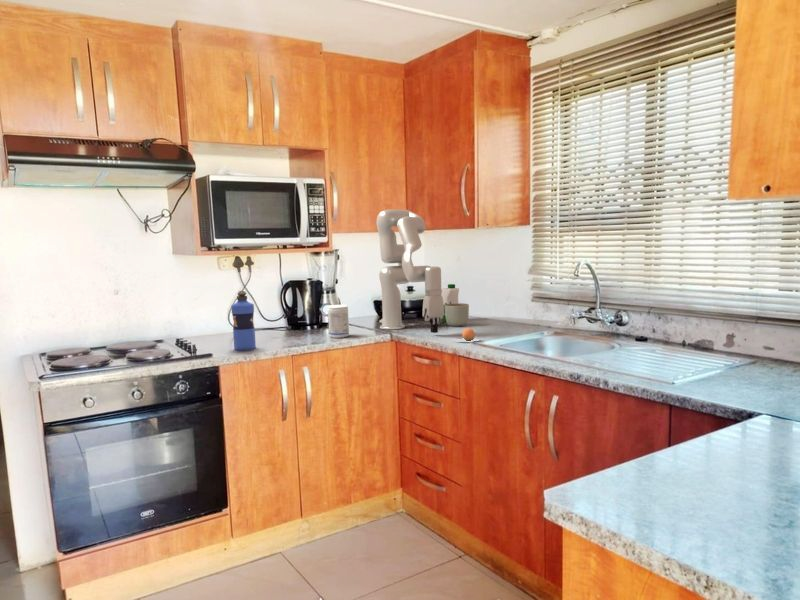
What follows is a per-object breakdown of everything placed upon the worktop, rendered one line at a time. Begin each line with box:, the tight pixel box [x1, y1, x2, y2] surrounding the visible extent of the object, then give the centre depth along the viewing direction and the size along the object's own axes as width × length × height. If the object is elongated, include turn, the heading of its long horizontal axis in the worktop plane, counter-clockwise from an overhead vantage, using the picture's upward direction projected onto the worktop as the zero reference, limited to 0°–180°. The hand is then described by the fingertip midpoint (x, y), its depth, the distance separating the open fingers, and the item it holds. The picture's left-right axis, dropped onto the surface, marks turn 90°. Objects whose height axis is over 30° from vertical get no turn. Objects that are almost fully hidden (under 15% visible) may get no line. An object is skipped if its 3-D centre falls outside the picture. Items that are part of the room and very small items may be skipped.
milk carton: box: [440, 283, 460, 322], centre depth 308 cm, size 9×9×20 cm
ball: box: [461, 328, 476, 341], centre depth 249 cm, size 6×6×6 cm
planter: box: [445, 302, 470, 327], centre depth 293 cm, size 12×12×11 cm
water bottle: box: [230, 290, 257, 352], centre depth 244 cm, size 9×9×25 cm
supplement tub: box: [327, 304, 350, 339], centre depth 269 cm, size 10×10×15 cm
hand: (434, 332), depth 265 cm, fingers closed
